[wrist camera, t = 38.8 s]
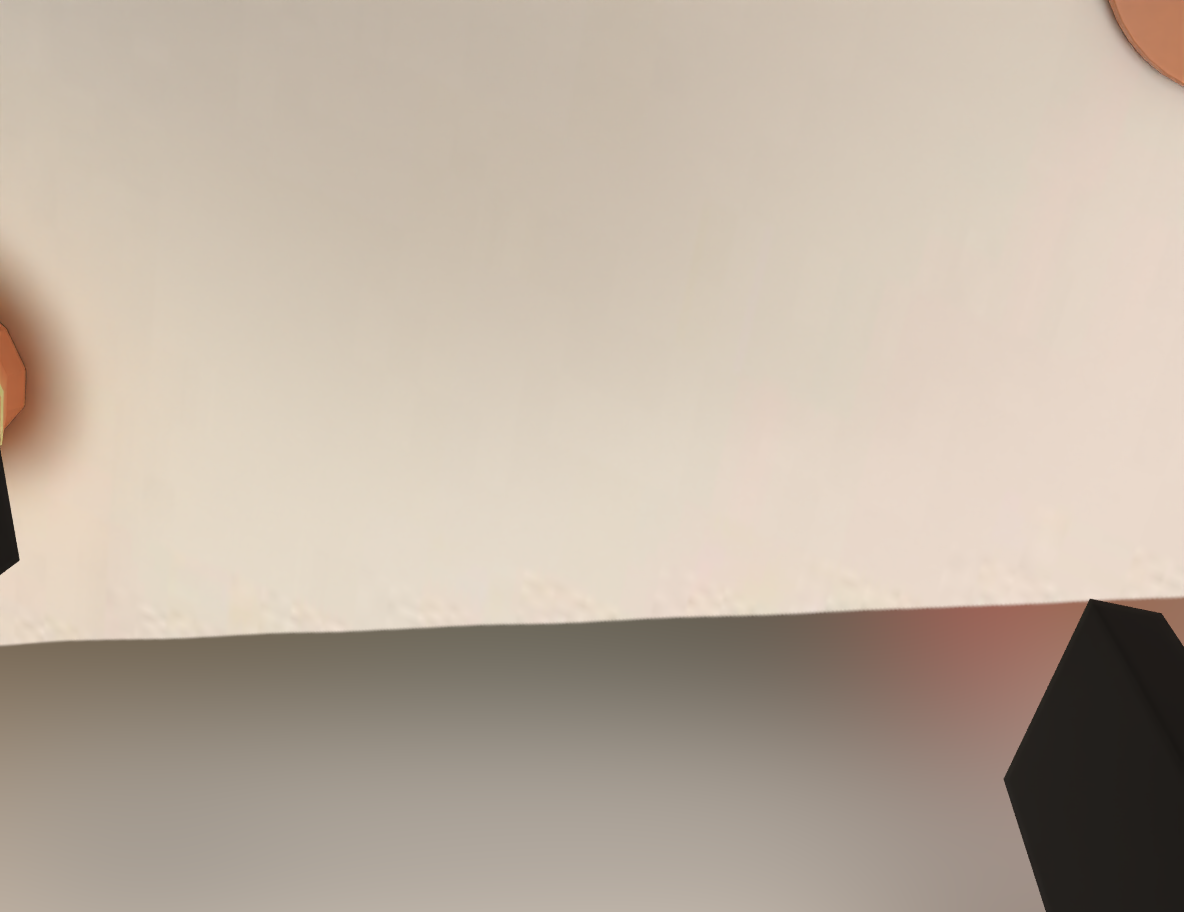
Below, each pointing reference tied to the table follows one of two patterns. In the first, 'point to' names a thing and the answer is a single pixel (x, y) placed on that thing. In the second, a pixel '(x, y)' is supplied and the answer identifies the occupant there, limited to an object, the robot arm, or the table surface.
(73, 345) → the table surface
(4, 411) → the potted cactus
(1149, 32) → the lid
